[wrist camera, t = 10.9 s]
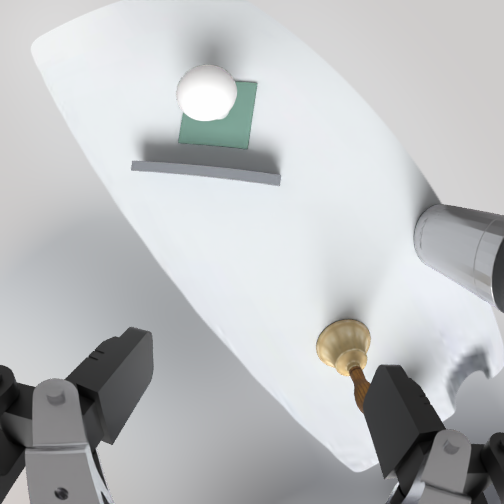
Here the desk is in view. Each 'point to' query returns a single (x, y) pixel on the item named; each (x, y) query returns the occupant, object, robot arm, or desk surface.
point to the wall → (207, 172)
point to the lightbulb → (206, 93)
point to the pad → (224, 123)
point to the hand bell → (347, 353)
